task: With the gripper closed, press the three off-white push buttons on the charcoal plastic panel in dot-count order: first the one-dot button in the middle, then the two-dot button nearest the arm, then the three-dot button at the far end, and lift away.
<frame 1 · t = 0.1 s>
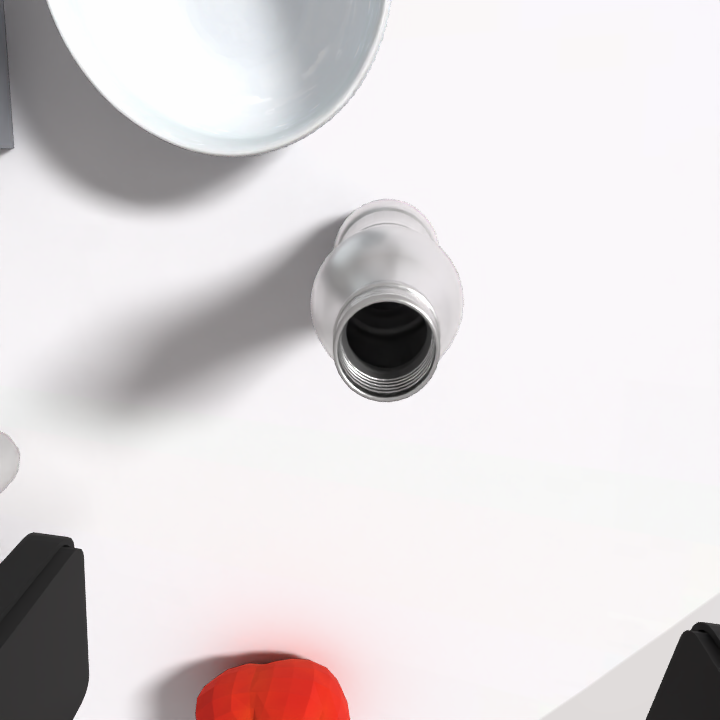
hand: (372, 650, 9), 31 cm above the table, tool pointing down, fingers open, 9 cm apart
plastic bottle: (386, 247, 38), on the table
tomato: (288, 681, 52), on the table
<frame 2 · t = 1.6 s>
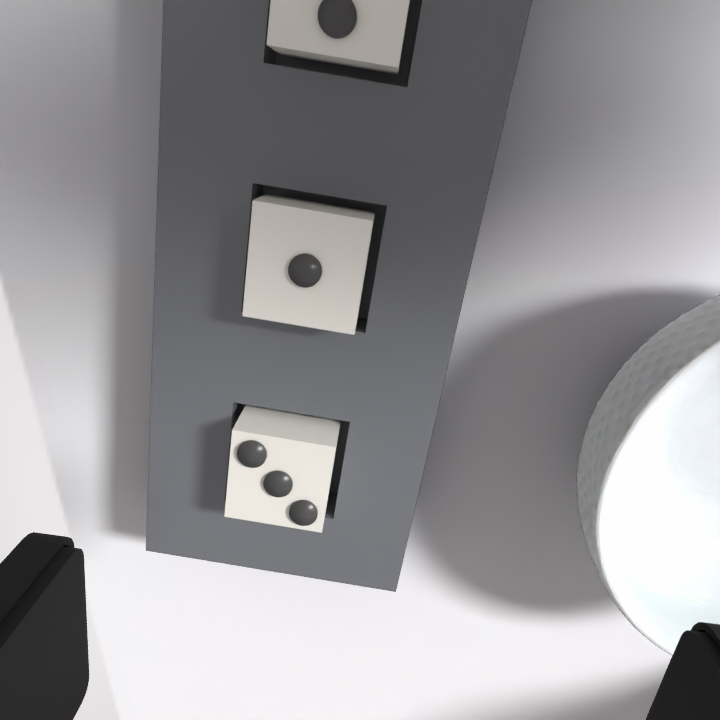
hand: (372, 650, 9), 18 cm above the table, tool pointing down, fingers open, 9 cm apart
button panel: (320, 247, 25), on the table
button one dot: (309, 263, 22), point 3 cm above the table, slide at 0.0 cm
button three dots: (283, 468, 25), point 3 cm above the table, slide at 0.0 cm
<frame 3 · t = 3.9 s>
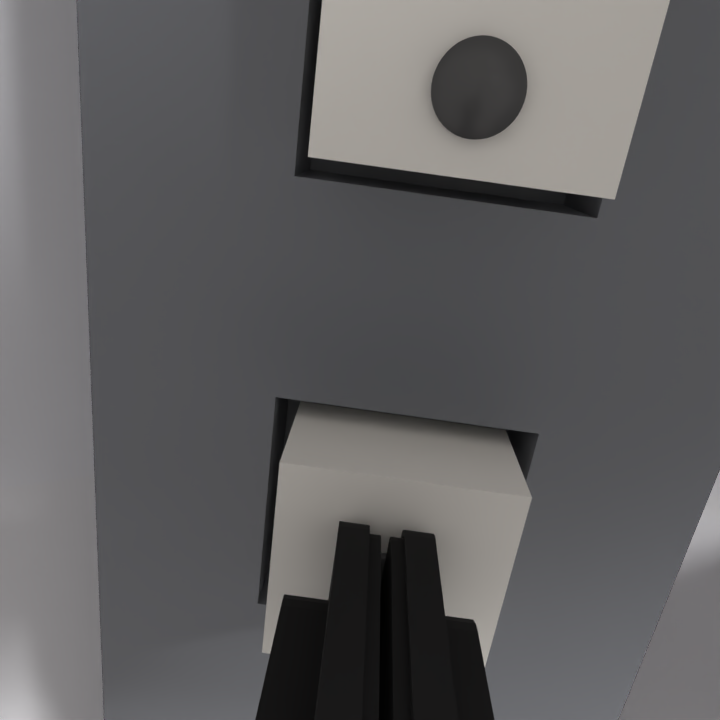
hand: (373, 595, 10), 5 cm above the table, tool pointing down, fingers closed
button panel: (388, 451, 15), on the table
button one dot: (387, 540, 11), point 3 cm above the table, slide at 0.0 cm, touching gripper
button two dots: (480, 18, 8), point 3 cm above the table, slide at 0.0 cm
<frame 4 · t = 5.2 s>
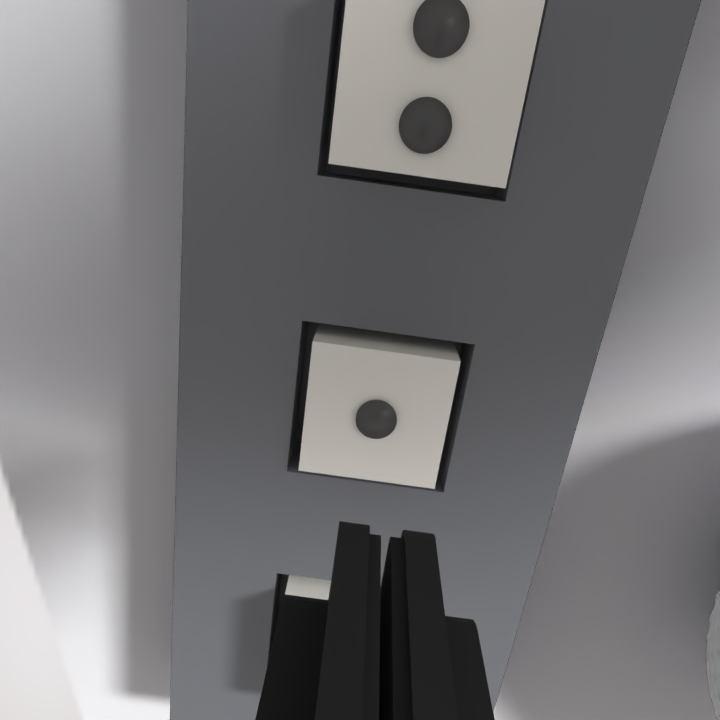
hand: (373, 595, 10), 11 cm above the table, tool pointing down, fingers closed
button panel: (377, 374, 20), on the table
button one dot: (376, 402, 18), point 2 cm above the table, slide at 1.1 cm
button three dots: (339, 649, 20), point 3 cm above the table, slide at 0.0 cm
button two dots: (429, 82, 14), point 3 cm above the table, slide at 0.0 cm
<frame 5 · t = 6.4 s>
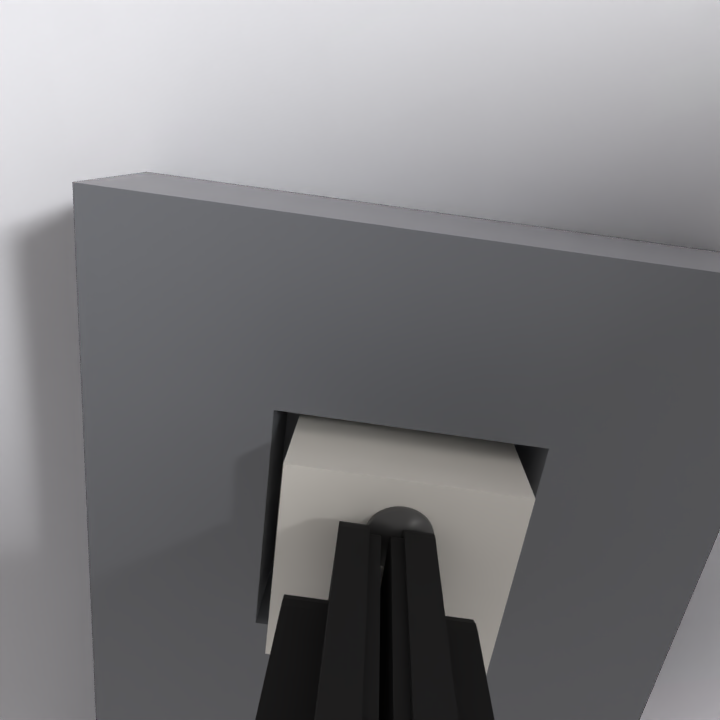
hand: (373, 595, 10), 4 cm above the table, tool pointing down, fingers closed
button two dots: (390, 541, 11), point 3 cm above the table, slide at 0.5 cm, touching gripper
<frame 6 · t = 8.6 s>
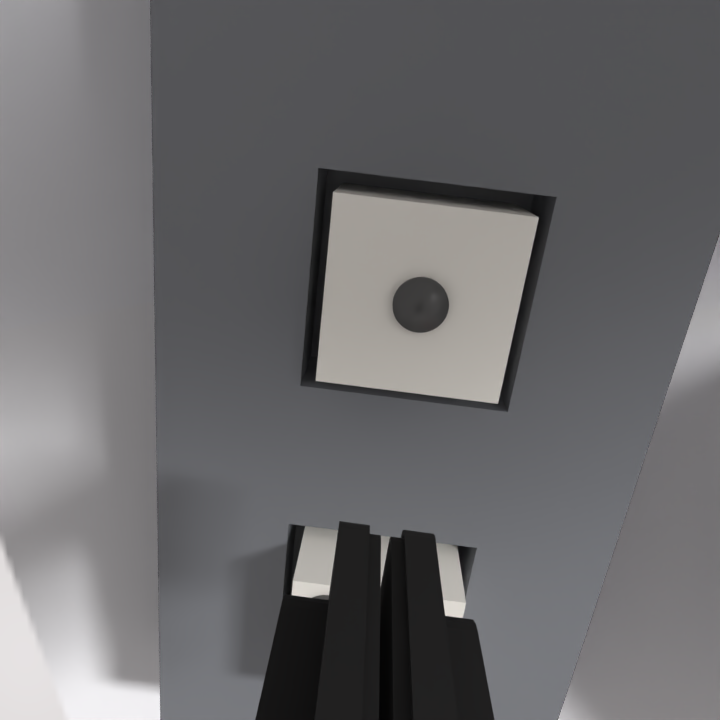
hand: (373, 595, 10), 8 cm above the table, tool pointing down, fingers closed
button panel: (414, 269, 16), on the table
button one dot: (418, 291, 14), point 2 cm above the table, slide at 1.1 cm
button three dots: (370, 622, 16), point 3 cm above the table, slide at 0.0 cm
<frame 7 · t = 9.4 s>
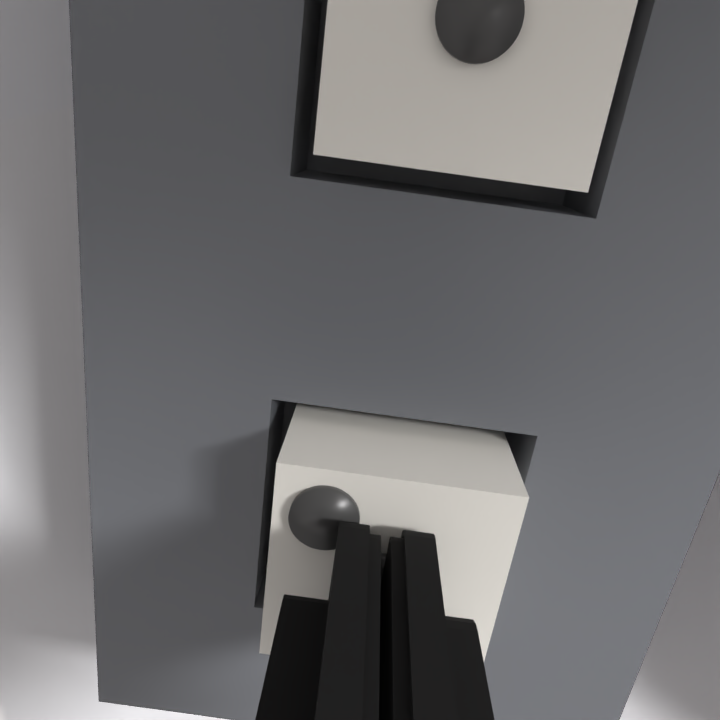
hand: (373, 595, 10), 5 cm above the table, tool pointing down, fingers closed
button panel: (453, 50, 11), on the table
button one dot: (468, 30, 9), point 2 cm above the table, slide at 1.1 cm
button three dots: (385, 540, 11), point 3 cm above the table, slide at 0.1 cm, touching gripper
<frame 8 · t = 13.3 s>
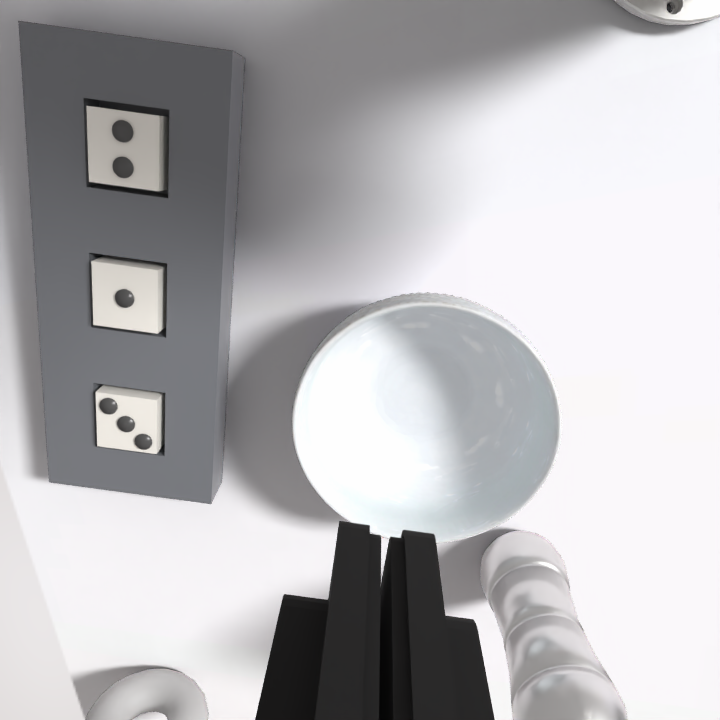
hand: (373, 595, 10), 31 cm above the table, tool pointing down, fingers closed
button panel: (146, 285, 41), on the table
plastic bottle: (515, 552, 47), on the table
cereal bowl: (419, 388, 43), on the table
donut: (168, 671, 54), on the table
button one dot: (132, 293, 39), point 2 cm above the table, slide at 1.1 cm
button three dots: (133, 416, 42), point 2 cm above the table, slide at 1.1 cm
button two dots: (131, 149, 35), point 2 cm above the table, slide at 1.1 cm
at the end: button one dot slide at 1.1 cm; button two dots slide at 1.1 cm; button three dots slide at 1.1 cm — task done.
